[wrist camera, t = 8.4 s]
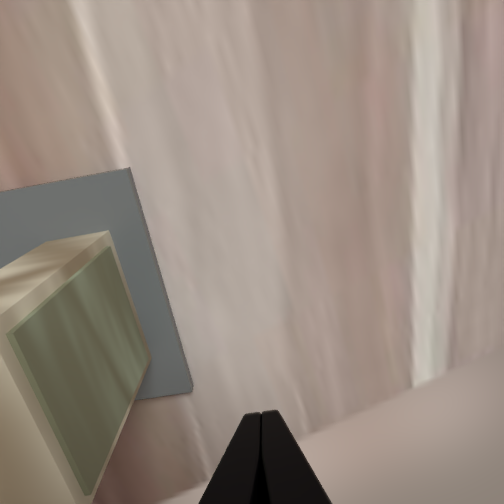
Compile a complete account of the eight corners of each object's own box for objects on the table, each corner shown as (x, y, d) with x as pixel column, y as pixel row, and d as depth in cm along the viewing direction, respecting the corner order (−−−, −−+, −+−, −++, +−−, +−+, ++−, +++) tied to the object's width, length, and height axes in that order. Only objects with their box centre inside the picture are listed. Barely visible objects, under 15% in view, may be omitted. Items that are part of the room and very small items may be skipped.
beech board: (113, 229, 16) (-6, 324, 9) (155, 357, 18) (91, 519, 11) (46, 241, 16) (-129, 345, 9) (96, 366, 19) (-7, 532, 11)
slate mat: (129, 167, 16) (126, 168, 15) (193, 385, 20) (192, 391, 19) (-164, 222, 16) (-176, 225, 16) (-45, 421, 21) (-51, 428, 20)
